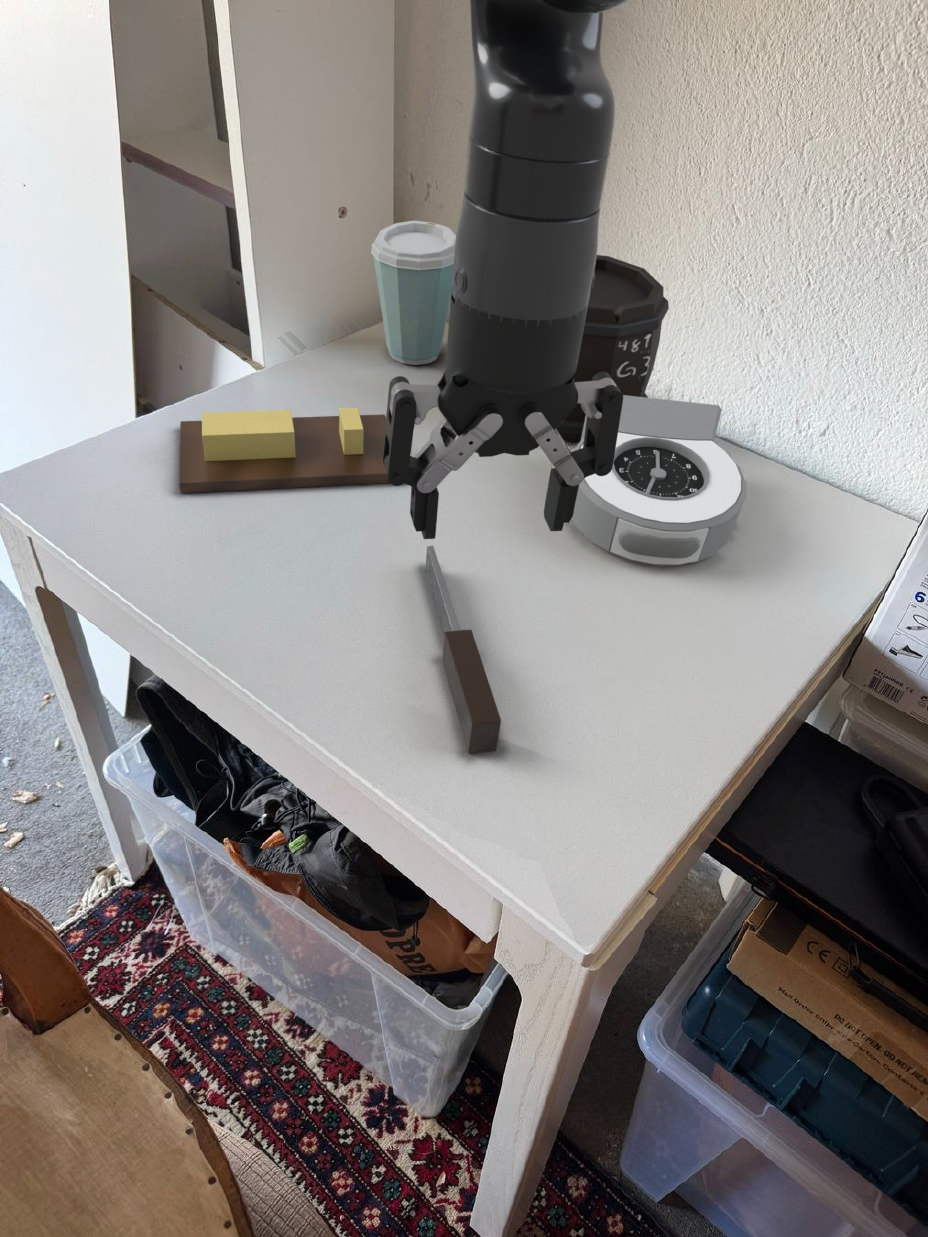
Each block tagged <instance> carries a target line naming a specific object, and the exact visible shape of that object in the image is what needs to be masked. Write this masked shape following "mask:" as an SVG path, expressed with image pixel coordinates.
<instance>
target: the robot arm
mask: <svg viewBox="0 0 928 1237" xmlns="http://www.w3.org/2000/svg"><path fill="white" fill-rule="evenodd" d="M629 1H630V0H469V12H470V14H469V15H470V33H471V35H470V37H471V50H472V64H473V101H472V108H471V114H470V121H469V130H468V140H467V150H466V151H467V153H466V165H465V178H464V191H463V199H462V205H461V210H460V215H459V220H458V224H457V229H456V234H455V235H456V241H455V252H454V265H453V278H452V291H451V300H450V305H449V317H448V329H447V330H448V331H447V344H446V353H445V354H446V357H445V367H444V371H443V374H442V376H441V378H440V380H439V381H438V382H437V384H436V385H434V384H410V382H409V381H410V380H408V378H407V377H405V376H402V375H399V376H395V377H393V378H392V379H391V380H390V381H389V385H388V394H387V404H386V406H387V407H386V412H385V413H386V414H385V417H386V423H385V433H384V442H383V452H382V459H383V463H384V465H385V467H386V471H387V478H388V481H389V483H388V484H390V485H392V486H394V487H400V486H403V485H406V486H409V487H411V488H410V503H409V504H410V506H409V508H410V509H409V515H410V518H411V521H412V526H413V527H414V529H415V532H421V534H422V538H423V539H422V540H435V539H436V534H437V523H438V522H437V521H438V511H439V498H440V497H439V496H440V492H439V490H438V486H439V485H440V484H441V482H443V480H445V479H446V477H448V476H449V474H451V472H456V471H458V470H460V469H461V467H463V465H464V464H465V463H466V462H467V461H468V460H469V459H470V458H471V457H472V456H473V454H475V453H476V454H477V455H478V457H479V458H490V457H491V458H492V457H495V456H500V455H503V454H508V455H513V456H529V455H530V452H531V451H533V450H536V449H538V448H540V449H541V450H542V451H543V453H544V454H545V456H546V457H547V459H548V460H549V461H550V463H551V465H552V466H553V467H552V468H550V472H549V478H548V485H547V490H546V495H545V501H544V506H543V518H544V521H545V523H546V524H547V527H548V529H549V531H550V532H562V531H563V529H564V525H565V524H567V523H570V522H571V521H572V519H571V518H572V517H573V513H574V508H575V503H576V498H577V493H578V488H579V484H580V483H581V482H582V481H583V479H584V478H586V477H588V476H590V475H593V474H596V475H598V476H605V475H607V474H609V473H610V472H611V470H612V467H613V461H614V455H615V448H616V442H617V436H618V429H619V423H620V417H621V410H622V404H623V394H622V393H621V391H620V390H619V388H618V387H617V386H616V384H615V383H614V381H613V380H612V378H611V377H610V375H609V374H608V373H606V372H599V373H597V374H596V375H595V376H594V377H593V378H592V381H585V382H574V375H575V372H576V369H577V364H578V359H579V353H580V347H581V342H582V336H583V331H584V325H585V319H586V314H587V308H588V303H589V297H590V293H591V291H592V288H593V286H594V281H595V273H594V269H595V264H596V257H597V255H598V245H599V224H600V222H599V221H600V214H601V213H600V212H601V206H602V201H603V196H604V189H605V185H606V178H607V174H608V168H609V167H608V166H609V163H610V162H609V161H610V156H611V149H612V143H613V140H614V139H613V138H614V131H615V130H614V129H615V122H616V121H615V120H616V100H615V95H614V90H613V88H612V85H611V84H610V82H609V78H608V77H607V75H606V73H605V71H604V67H603V63H602V54H601V53H602V52H601V51H602V49H601V48H602V34H603V21H604V12H607V11H611V10H614V9H616V8H619V7H620V6H622V5H625V4H626V3H628V2H629ZM577 403H579V404H581V407H582V409H583V411H584V412H585V414H586V416H587V420H586V428H585V436H584V443H583V448H581V449H578V450H576V451H571V449H570V448H569V446H568V445H567V443H566V441H564V440H563V439H562V437H561V436H560V434H559V433H558V431H557V429H556V428H557V427H558V426H559V425H560V424H561V423H562V422H563V421H564V419H565V418H566V417H567V416H568V415H569V414H570V413H571V412H572V411H573V410H574V408H575V407H576V405H577ZM434 408H438V410H439V412H440V413H441V415H442V417H443V418H442V419H441V421H440V422H439V423H438V424H436V426H435V427H434V428H433V430H432V431H431V433H430V437H429V440H428V441H427V442H426V443H425V444H424V445H423V446H422V447H421V449H420V450H419V451H418V452H416V455H414V456H412V448H413V440H414V438H413V437H414V430H415V426H420V425H421V424H423V422H424V421H425V419H426V417H427V414H428V413H429V411H431V410H432V409H434Z"/></svg>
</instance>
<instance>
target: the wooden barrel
mask: <svg viewBox="0 0 928 1237" xmlns="http://www.w3.org/2000/svg"><path fill="white" fill-rule="evenodd" d="M594 273H595V281H594V286H593V288H592V291H591V293H590V297H589V303H588V308H587V314H586V319H585V325H584V331H583V336H582V342H581V347H580V353H579V359H578V364H577V369H576V372H575V375H574V382H585V381H592V378H593V377H594V376H595V375H596V374H597V373H599V372H606V373H608V374H609V375H610V377H611V378H612V380H613V381H614V383H615V384H616V386H617V387H618V388H619V390H620V391H621V393H622V394H623V395H627V396H636V397H646V398H649V396H648V395H647V393H646V390H647V387H648V384H649V382H650V378H651V376H652V374H653V370H654V366H655V363H656V358H657V353H658V350H659V346H660V342H661V333H662V324H663V320H664V318H665V316H666V314H667V313H668V311H669V309H670V306H669V300H668V299H667V298H666V297H665V295H664V286H663V285H662V284H661V283H660V282H659V281H658V280H657V279H655V277H654V276H653V275H652V274H651V273H650V272H648V271H647V269H645V268H644V267H641V266H638V265H635V264H633V263H629V262H626V261H623V260H622V259H618V258H615V257H612V256H610V255H600V254H597V257H596V264H595V269H594ZM585 417H586V414H585V412H584V411H583V409H582V407H581V404H579V403H577V405H576V407H575V408H574V410H573V411H572V412H571V413H570V414H569V415H568V416H567V417H566V418H565V419H564V421H563V422H562V423H561V424H560V425H559V426H558V427H557V428H556V429H557V431H558V433H559V434H560V436H561V437H562V439H563V440H564V442H569V443H577V444H579V442H580V441H581V437H582V432H583V427H584V422H585Z"/></svg>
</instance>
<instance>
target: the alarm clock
mask: <svg viewBox="0 0 928 1237" xmlns="http://www.w3.org/2000/svg"><path fill="white" fill-rule="evenodd" d="M722 411H723V410H722V408H721V407H720V405H718V404H711V403H699V402H692V401H683V400H682V401H681V400H674V399H664V398H654V397H648V398H646V397H636V396H627V395H623V404H622V410H621V417H620V423H619V429H618V436H617V442H616V448H615V455H614V461H613V467H612V470H611V472H610V473H609V474H607V475H605V476H598V475H596V474H593V475H590V476H588V477H586V478H584V479H583V481H582V482H581V483H580V484H579V488H578V493H577V498H576V503H575V508H574V513H573V517H572V518H571V521H572V523H573V525H574V526H575V528H576V529H578V531H579V532H581V533H582V534H583V535H584V537H586V538H587V539H588V540H589V541H590V542H592V543H593V544H595V545H596V546H598V547H600V548H602V549H603V550H605V551H606V552H608V553H609V554H612V555H614V556H617V557H619V558H622V559H625V560H627V561H630V562H633V563H634V562H635V563H639V564H645V565H648V566H649V565H651V566H673V567H674V566H681V565H686V564H693V563H697V562H700V561H703V560H705V559H708V558H709V557H711V556H714V555H716V554H717V553H718V552H720V550H722V549H723V548H724V547H725V546H726V545H727V544H728V543H729V541H730V538H731V536H732V534H733V532H734V530H735V527H736V524H737V522H738V519H739V516H740V514H741V512H742V508H743V506H744V503H745V500H746V498H747V482H746V478H745V476H744V474H743V472H742V468H741V467H740V466H739V465H738V463H737V462H736V461H735V460H734V459H733V457H732V456H731V455H730V453H728V452H727V451H726V450H725V449H724V448H723V447H721V446H720V445H719V444H717V443H716V442H715V440H716V436H717V431H718V427H719V423H720V418H721V415H722ZM586 420H587V416H586V417H585V422H584V427H583V432H582V437H581V441H580V442H579V443H577V444H576V446H575V447H574V449H573V451H576V450H578V449H581V448H583V443H584V436H585V428H586ZM573 451H572V452H573Z"/></svg>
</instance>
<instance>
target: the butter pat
mask: <svg viewBox="0 0 928 1237" xmlns="http://www.w3.org/2000/svg"><path fill="white" fill-rule="evenodd" d="M360 415H361V414H360V411H359V407H338V416H339V434H340V438H341V443H342V447H343V452H344V455H353V454H363V426H362V422H361V418H360Z"/></svg>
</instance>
